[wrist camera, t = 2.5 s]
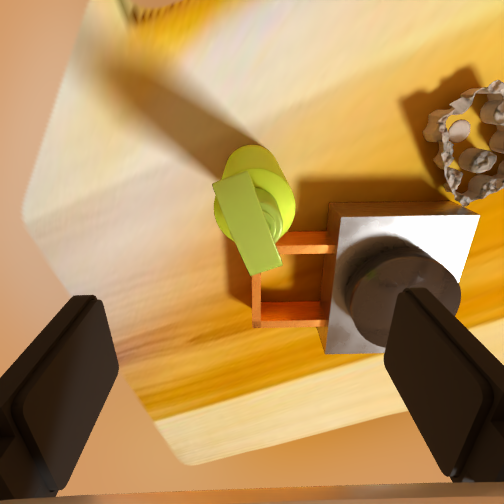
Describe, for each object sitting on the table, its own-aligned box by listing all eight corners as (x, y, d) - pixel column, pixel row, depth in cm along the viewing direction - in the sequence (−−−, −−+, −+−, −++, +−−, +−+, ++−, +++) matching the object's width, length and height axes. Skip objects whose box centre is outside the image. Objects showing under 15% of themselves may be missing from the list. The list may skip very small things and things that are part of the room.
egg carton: (413, 117, 32) (435, 119, 29) (487, 75, 31) (520, 71, 27) (442, 203, 36) (464, 214, 33) (509, 170, 35) (540, 177, 31)
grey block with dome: (250, 203, 36) (251, 229, 29) (450, 200, 36) (502, 225, 29) (252, 329, 44) (253, 374, 36) (416, 326, 44) (450, 370, 37)
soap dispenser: (265, 125, 32) (288, 156, 14) (285, 188, 35) (326, 279, 17) (212, 147, 33) (172, 201, 15) (236, 206, 36) (227, 311, 18)
